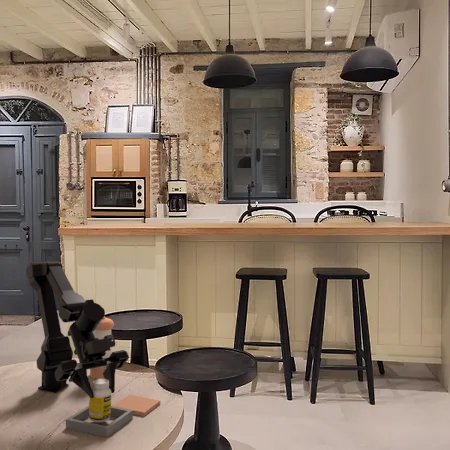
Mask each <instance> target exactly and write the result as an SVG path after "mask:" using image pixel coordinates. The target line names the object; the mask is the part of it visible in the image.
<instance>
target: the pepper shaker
mask: <svg viewBox="0 0 450 450" xmlns="http://www.w3.org/2000/svg"><path fill="white" fill-rule="evenodd" d="M114 326H115V322H114V321H113V319H111V318H109V317H106V316H104V318H103V319H102V321H101V322H100V324H99V325H98V327H97V328H96V330H94V331H93V333H94V336H95V338H98V339H104V336H106V335H112V329H113V328H114ZM105 352H106V354H105V356H103V357H102V358H103V359H104V358H109V356H110V355H111V354H112V352H113V347H111V348H110V351H105ZM104 371H105V370H104V367H103V366H102V367H97V368H92V369H89V376H90V377H91V378H92V379H105V378H104V376H103V372H104Z"/></svg>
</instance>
